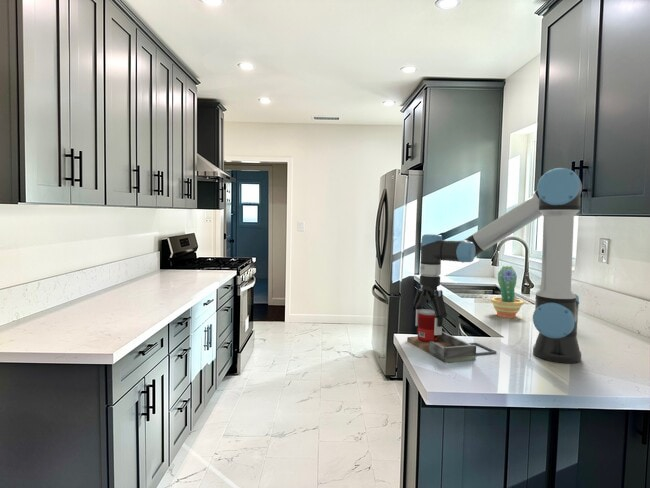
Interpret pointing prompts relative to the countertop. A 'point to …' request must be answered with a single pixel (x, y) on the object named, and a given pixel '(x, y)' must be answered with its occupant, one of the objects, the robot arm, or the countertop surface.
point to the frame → (484, 348)
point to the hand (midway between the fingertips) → (428, 330)
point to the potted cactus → (507, 294)
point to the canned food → (426, 325)
